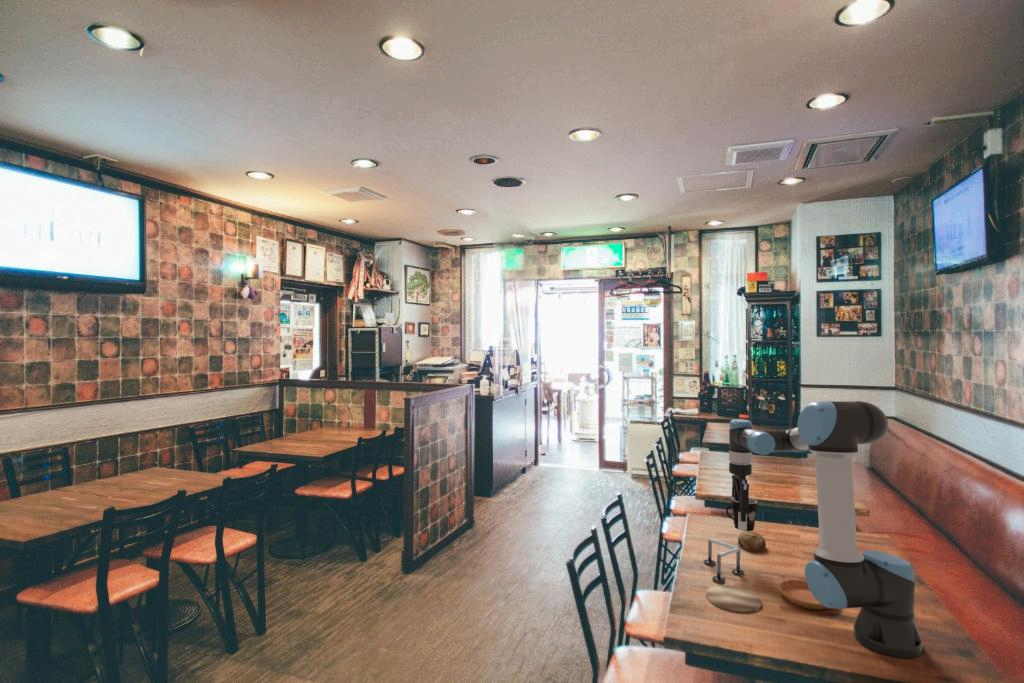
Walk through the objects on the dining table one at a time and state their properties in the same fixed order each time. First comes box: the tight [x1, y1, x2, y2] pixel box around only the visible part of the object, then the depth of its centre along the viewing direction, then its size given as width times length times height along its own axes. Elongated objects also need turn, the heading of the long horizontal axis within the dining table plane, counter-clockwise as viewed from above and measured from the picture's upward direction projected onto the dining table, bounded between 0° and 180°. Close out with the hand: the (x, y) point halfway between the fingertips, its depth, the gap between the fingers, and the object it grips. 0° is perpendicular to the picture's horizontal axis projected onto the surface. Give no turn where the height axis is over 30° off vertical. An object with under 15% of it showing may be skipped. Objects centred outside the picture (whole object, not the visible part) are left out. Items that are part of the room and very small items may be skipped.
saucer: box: [778, 579, 829, 611], centre depth 168 cm, size 16×16×3 cm
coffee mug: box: [725, 497, 758, 532], centre depth 194 cm, size 12×9×10 cm
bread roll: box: [737, 530, 767, 552], centre depth 211 cm, size 10×10×8 cm
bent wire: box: [703, 537, 745, 584], centre depth 187 cm, size 18×12×9 cm, turn 171°
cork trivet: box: [705, 584, 762, 614], centre depth 168 cm, size 16×16×1 cm
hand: (739, 526), depth 194 cm, fingers closed on coffee mug, 6 cm apart
